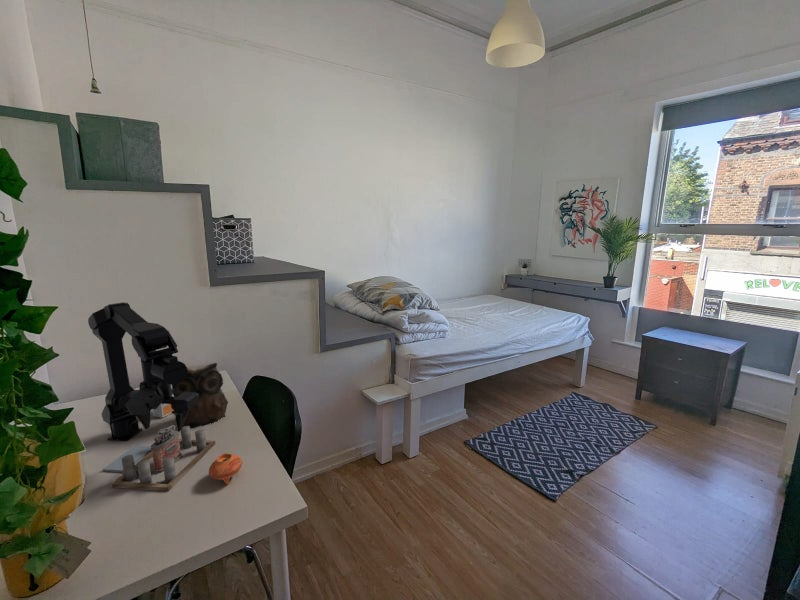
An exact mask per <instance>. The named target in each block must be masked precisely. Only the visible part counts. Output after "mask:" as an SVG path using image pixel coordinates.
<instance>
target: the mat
mask: <svg viewBox="0 0 800 600" xmlns="http://www.w3.org/2000/svg"><path fill="white" fill-rule="evenodd" d="M150 451H152V450H151V445H139V444H135V445H134V446H132V447H131V448H129V449H128V450H126V451H125V452H124V453H123V454H121V455H120V456H119V457H117V458H116V459H114V461H112V462H110V463H109V464H108V465H106V466H105V467H104V468H103V469H102V472H108V471H111V472H110V473H112V472H113V473H124V471H123V465H122V458H123V457H124V456H127V455H133V458H134V464H135V463H136V464H137V463H138V462H139V461H140V459H141V460H142V459H143V458H144V457H145V455H148V454H149V453H150Z"/></svg>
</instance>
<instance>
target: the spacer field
mask: <svg viewBox="0 0 800 600" xmlns="http://www.w3.org/2000/svg"><path fill="white" fill-rule="evenodd" d="M167 428H168V427H163V428H160V429H159V430H158V433H159V432H160V431H164V430H166V429H167ZM205 433H206V432H205V429H198V430H196V431H195V434H194V435H195V436H194V437H195V439H192V435H191V434H192V433H191V428H190V426H184V427H182V430H180V438H179V445H181V446H182V449H184V450H188V449H190V448H192V447H193V446H196V451H197V453H198V454H197V455H196V456H195V457H194V458H193V459H191V460H190V461H189V462H188V464H186V466H184V467H183V468H182V469H181V470H180V472H178V473H176V465H175V464H176V463H175V464H174V458H173V457H168V458H166V459H164V460H163V468H164V472H163V476H164V481H165V483H153V480H152V473H151V465H150V464H151V463H150V460H151V459H153V454H152V451H151V452H149V453H148V454H147V455H146V456H144V457H143V458H142V459H141V460H139V461H138V462H137V463H136V464H134V458H133V455H127V456H124V457H123V458H122V465H123V471H124V472H123V474H122V475H120V476H118V478H116V479H115V480H114V481H113V482H112V483H111V484H110V485H111V488H118V489H119V488H120V489H135V490H146V491H147V490H148V491H163V492H169V491H170V490H172V489H173V488H174V487H175V485H176V484H178V482H179V481H180V480H181V479H182V478H184V477H185V476H186V474H188V472H189V471H190V470H191V469H192V468H193V467H194V466H195V465H196V464H197V463H198V462H200V461H201V460H202V458H203V457H204V456H206V454H207V453H208V452H209V451H211V449H212V448H213V447H214V446H216V440H206V439H207V438H206V434H205ZM149 459H150V460H149ZM137 472H138V478H139V482H134V480H135V479H136V478H137Z"/></svg>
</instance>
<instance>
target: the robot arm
mask: <svg viewBox="0 0 800 600" xmlns="http://www.w3.org/2000/svg"><path fill="white" fill-rule="evenodd" d="M87 321H88V323H87V324H88V326H89V328H90V330H91V332H92V334H93V335H94V336H95V337H96V338H97V339H99V341H101V344H102V350H103V355H104V360H105V366H106V372H107V378H108V382H109V390H108V392H107V394H106V396H105V399H104V400H105V405H104V408H103V410H102V412H101V418H102V420H103V422H105V424H106V423H107V424H108V425H109V427H110V433H111V435H110V436H108V437H107V441H118V442H119V441H121V442H126V441H129V440H130V439H132V438H133V437H135V436H136V435H137V434H139V433H140V432H142V431H143V428H144V429H145V430H149V429H150V426H151V411H153V409H157V408H158V406H159V405H160V404H171V408H172V409H173V410H174V411H172V412H171V414H172V415H174V417H175V426H176V430H177V431H178V432H181V430H182V427H183V425H184V422H185V419H186V417H187V414H188V412H189V410H190V408H192V407H193V406H194V405H196V404H197V403H198V402H200V399H199V394H197V393H196V392H183V393H182V394H180V395H179V396H177V397H173V396H172V394H174V393H175V389H171V385H174V384H178V383H180V382H181V381H183V380H184V378H185V377H186V375H187V368H188V367H187V365H186V364H185V363H184V362H182V361H180V360H179V359H178V356H176V355H175V354H177V353H179V350H178V348H177V347H178V344H177V343H176V341H175V339H174V338H173V336H172V335H171V332H170V331H169V330H168V329H166V327H164V326H163V325H161V324H159V323H154V322H148V321H147V320H146V319H145V318H143V317H142V316H141V315H139V314H138V313H137V312H136V311H135V310H133V309H132V308H131V306H130V304H129V303H128V302H124V301H123V302H116V303H110V304H107V305H105V306H104V307H103V308H101V309H98V310H97V311H95V312H92V313H91V315H90V316H88V320H87ZM126 333H127V334H128V335H130V337H131V345H132V348H133V349H134V351H135V352H136V354H137V355H138V356H137V357H138V358H140V365H141V371H142V379H143V380H142V381H141V382H139V389H135V388H134V387H132V386H131V383H130V378H129V373H128V368H127V361H126V355H125V350H124V344H123V339H124V337H125V335H126ZM173 354H174V355H173ZM139 422H140V423H141V425H142V426H143V428H142V427H139V426H140V425H139Z"/></svg>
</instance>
